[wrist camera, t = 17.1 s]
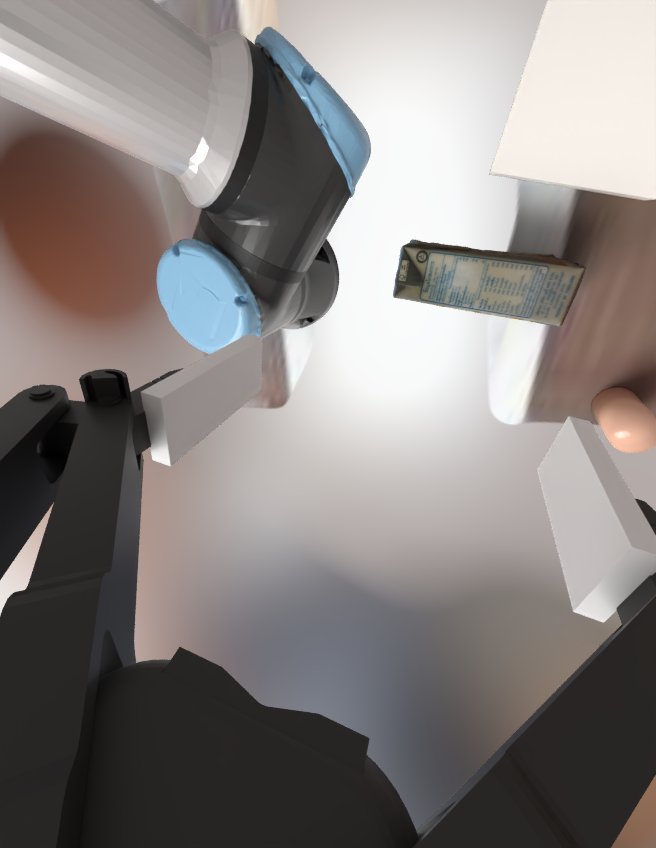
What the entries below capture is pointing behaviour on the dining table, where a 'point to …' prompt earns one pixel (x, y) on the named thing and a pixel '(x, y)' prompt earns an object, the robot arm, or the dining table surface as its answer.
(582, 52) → the white flat slab
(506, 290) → the beverage carton
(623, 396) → the peach rounded cylinder
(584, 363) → the dining table surface
